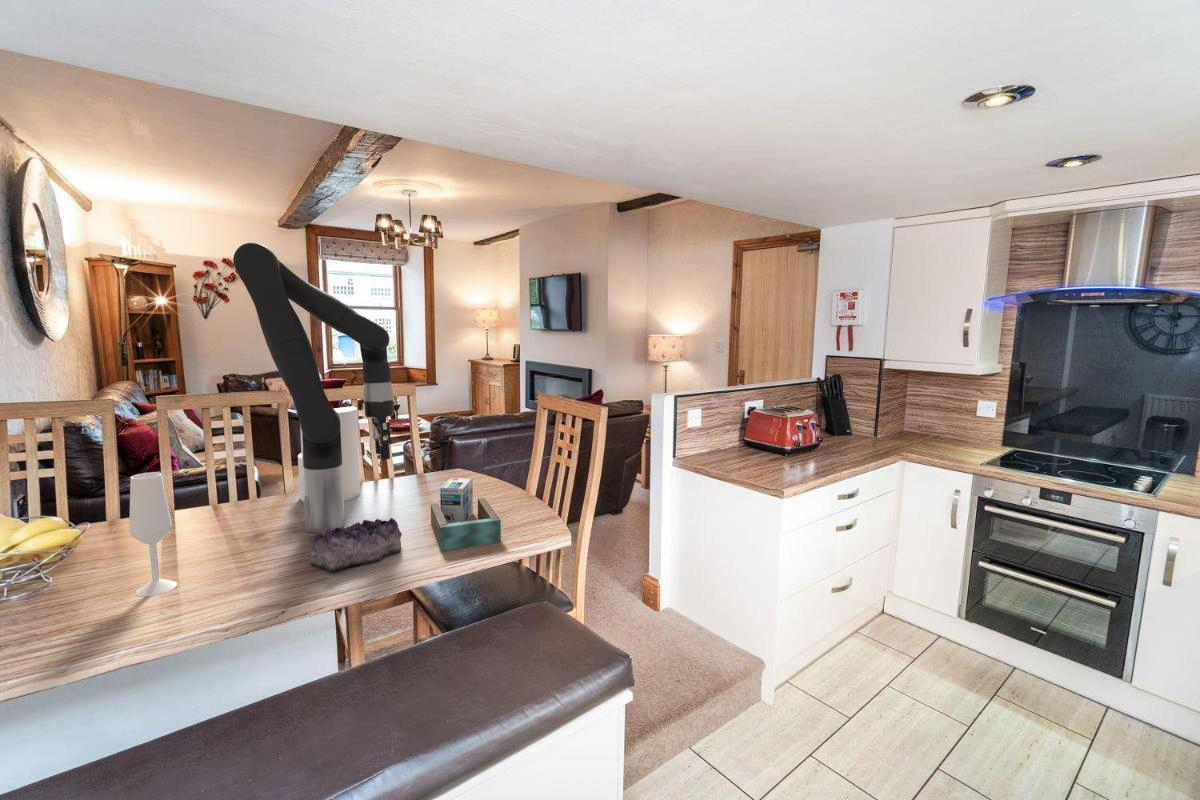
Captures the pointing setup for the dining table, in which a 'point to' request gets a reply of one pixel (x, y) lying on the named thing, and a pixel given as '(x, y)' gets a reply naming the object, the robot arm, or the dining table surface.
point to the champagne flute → (150, 524)
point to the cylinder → (348, 454)
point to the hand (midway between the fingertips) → (382, 456)
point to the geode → (355, 544)
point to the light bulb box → (457, 500)
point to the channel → (466, 528)
